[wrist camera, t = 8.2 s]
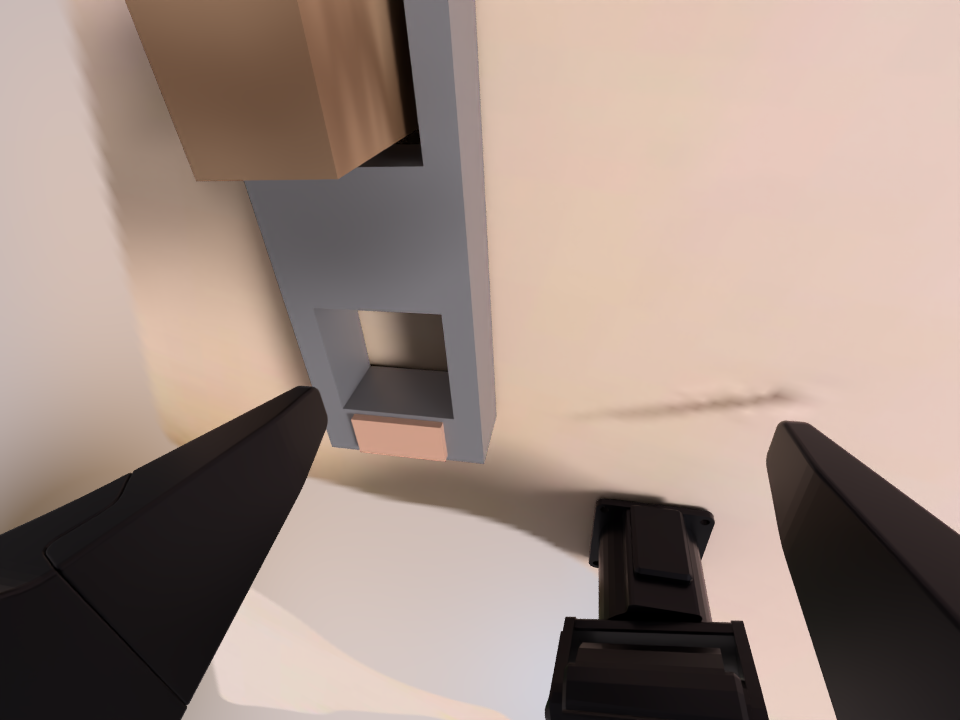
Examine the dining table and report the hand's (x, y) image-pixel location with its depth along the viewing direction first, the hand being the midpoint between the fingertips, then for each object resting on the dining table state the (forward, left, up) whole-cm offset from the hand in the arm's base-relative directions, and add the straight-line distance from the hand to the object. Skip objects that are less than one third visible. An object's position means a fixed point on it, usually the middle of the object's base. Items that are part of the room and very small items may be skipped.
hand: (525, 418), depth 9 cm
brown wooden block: (+6, +7, -12) cm, 15 cm away
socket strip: (0, +7, -12) cm, 14 cm away
